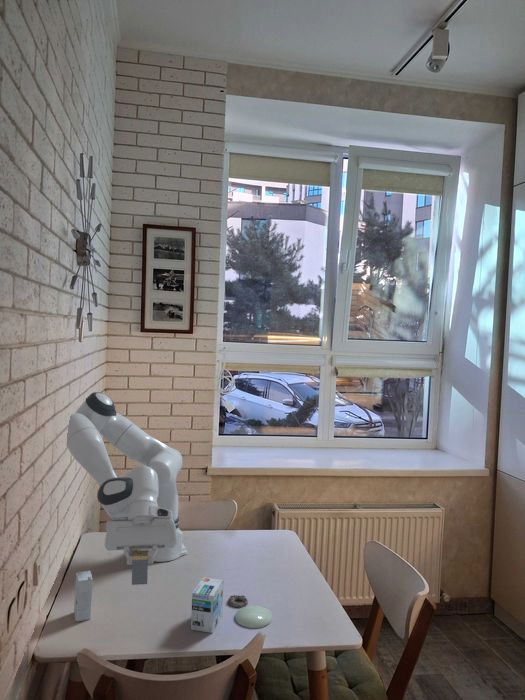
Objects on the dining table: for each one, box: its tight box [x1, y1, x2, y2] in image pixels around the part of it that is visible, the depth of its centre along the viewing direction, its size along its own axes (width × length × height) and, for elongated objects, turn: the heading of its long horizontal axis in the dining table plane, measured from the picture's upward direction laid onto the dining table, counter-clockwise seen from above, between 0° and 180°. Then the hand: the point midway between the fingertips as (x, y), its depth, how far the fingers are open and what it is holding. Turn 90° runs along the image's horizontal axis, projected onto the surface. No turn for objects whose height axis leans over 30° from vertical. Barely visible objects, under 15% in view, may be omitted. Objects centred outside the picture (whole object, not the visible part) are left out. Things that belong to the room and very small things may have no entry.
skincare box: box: [73, 570, 94, 622], centre depth 156 cm, size 6×4×12 cm
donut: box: [227, 594, 249, 609], centre depth 167 cm, size 8×8×2 cm
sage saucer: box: [235, 605, 273, 629], centre depth 158 cm, size 11×11×1 cm
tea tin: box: [131, 550, 149, 586], centre depth 149 cm, size 4×4×8 cm
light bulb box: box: [190, 576, 224, 634], centre depth 155 cm, size 11×7×11 cm, turn 168°
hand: (140, 563), depth 149 cm, fingers closed on tea tin, 4 cm apart
